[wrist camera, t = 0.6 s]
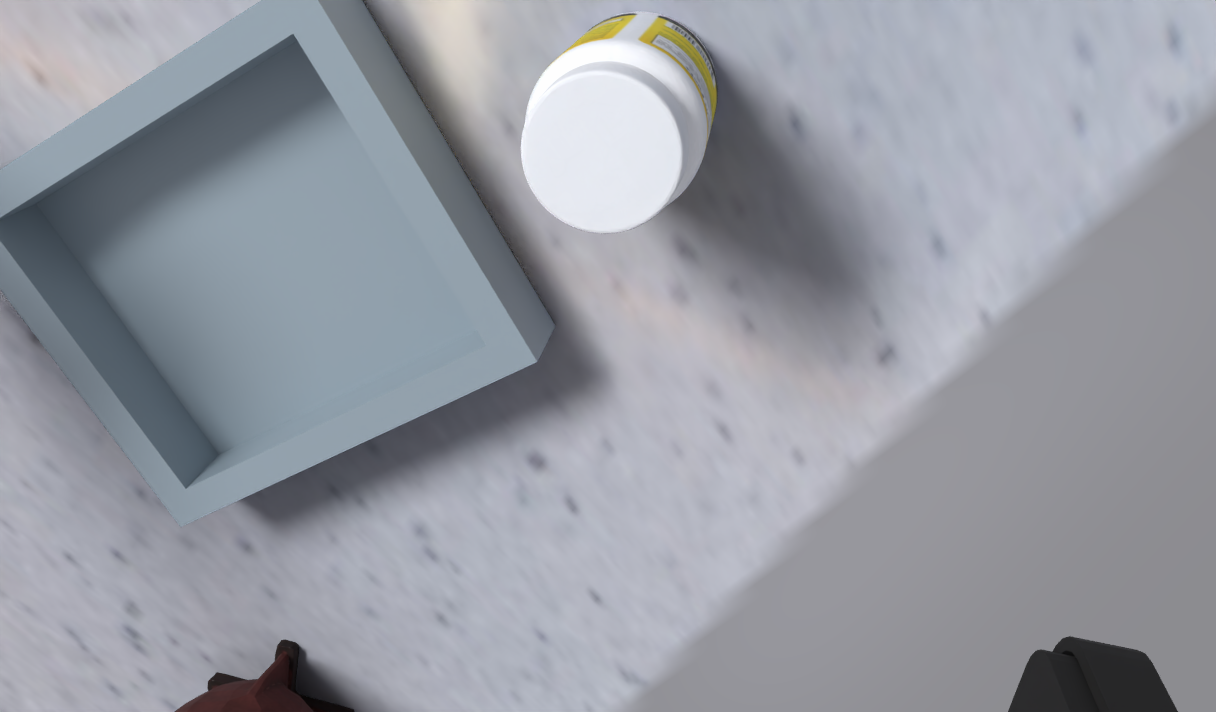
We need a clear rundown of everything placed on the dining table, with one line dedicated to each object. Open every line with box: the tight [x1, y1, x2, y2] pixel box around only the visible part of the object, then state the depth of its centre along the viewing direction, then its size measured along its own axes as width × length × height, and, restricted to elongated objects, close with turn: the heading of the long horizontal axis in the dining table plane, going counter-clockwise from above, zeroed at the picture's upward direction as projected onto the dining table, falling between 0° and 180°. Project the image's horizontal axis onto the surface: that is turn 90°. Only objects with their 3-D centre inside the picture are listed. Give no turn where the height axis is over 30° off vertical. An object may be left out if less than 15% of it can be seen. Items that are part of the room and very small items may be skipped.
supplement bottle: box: [521, 12, 718, 234], centre depth 30 cm, size 5×5×8 cm
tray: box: [0, 0, 555, 527], centre depth 37 cm, size 15×13×3 cm
